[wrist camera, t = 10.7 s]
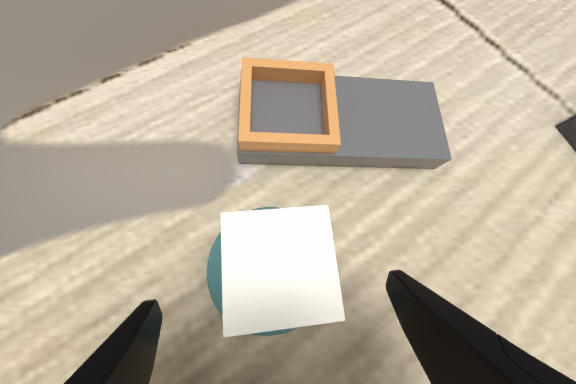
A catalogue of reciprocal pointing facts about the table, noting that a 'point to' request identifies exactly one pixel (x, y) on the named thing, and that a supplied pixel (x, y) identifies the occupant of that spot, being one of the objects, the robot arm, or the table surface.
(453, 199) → the table surface
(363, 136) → the framed tray with cover
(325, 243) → the tall white square post
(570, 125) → the disk drive
